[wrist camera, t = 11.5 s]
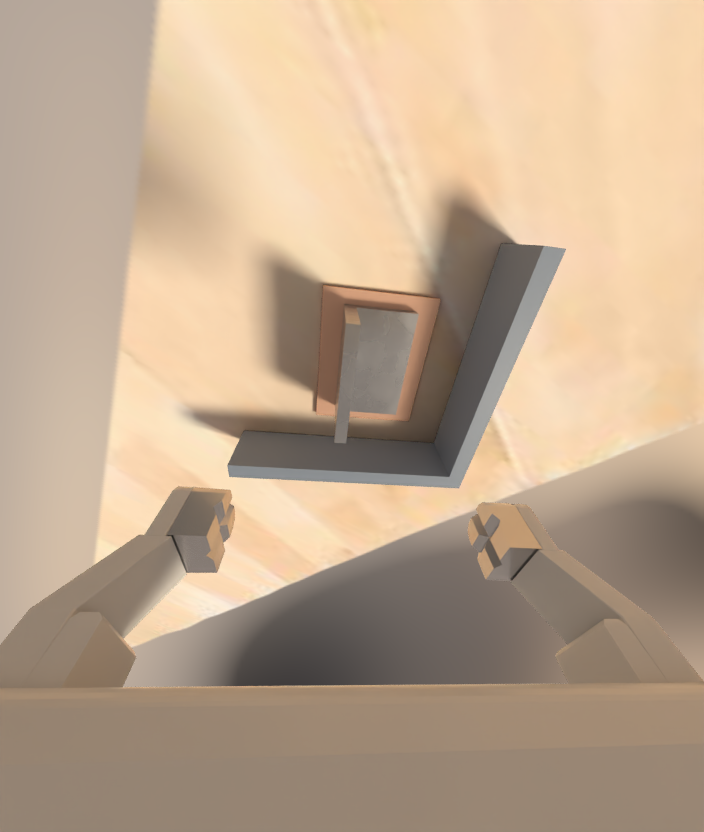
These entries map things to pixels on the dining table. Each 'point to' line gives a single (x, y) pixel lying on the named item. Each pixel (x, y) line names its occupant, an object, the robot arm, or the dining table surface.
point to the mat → (332, 340)
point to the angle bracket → (371, 362)
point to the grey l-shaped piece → (465, 411)
